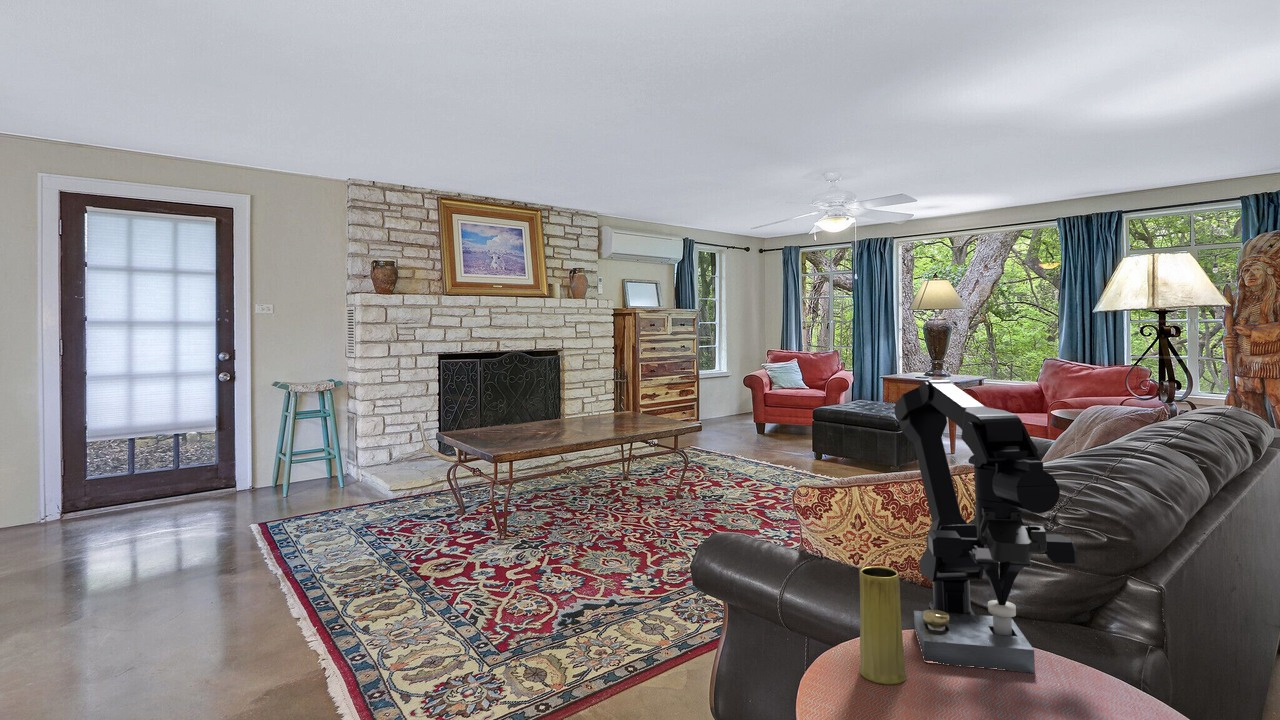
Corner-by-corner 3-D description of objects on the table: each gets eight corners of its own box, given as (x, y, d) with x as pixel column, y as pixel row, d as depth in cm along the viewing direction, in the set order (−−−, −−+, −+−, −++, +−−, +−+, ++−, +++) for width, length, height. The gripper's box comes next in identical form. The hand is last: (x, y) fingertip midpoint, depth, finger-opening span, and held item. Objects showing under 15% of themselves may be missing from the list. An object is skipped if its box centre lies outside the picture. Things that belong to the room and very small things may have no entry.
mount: (914, 630, 104) (913, 610, 104) (1011, 638, 100) (1010, 617, 100) (924, 663, 93) (923, 640, 93) (1035, 673, 89) (1034, 649, 89)
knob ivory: (986, 631, 97) (985, 599, 97) (1013, 633, 96) (1012, 600, 96) (992, 641, 94) (990, 607, 94) (1020, 643, 93) (1018, 609, 93)
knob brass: (922, 640, 100) (921, 608, 100) (948, 642, 99) (946, 610, 99) (926, 650, 96) (924, 617, 97) (952, 652, 95) (951, 619, 96)
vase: (898, 665, 92) (895, 565, 93) (912, 686, 86) (908, 578, 87) (855, 664, 93) (851, 565, 93) (865, 685, 87) (861, 578, 87)
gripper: (936, 508, 91) (941, 619, 90) (1090, 512, 85) (1095, 631, 85) (925, 493, 101) (929, 593, 101) (1061, 496, 96) (1066, 601, 96)
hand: (1001, 604), depth 95 cm, fingers closed, pressing on knob ivory
